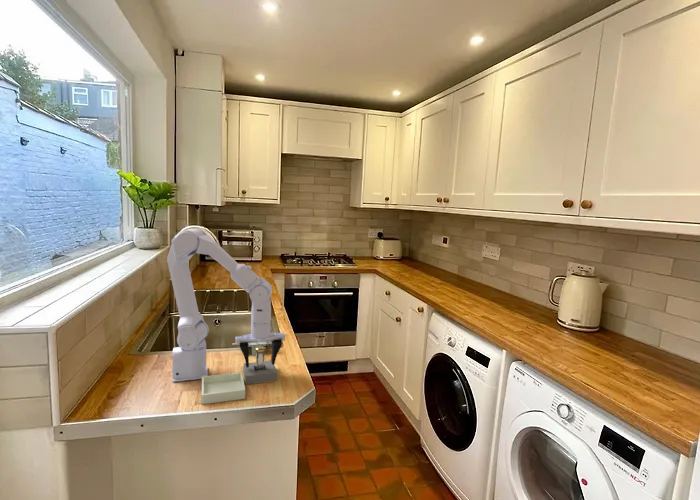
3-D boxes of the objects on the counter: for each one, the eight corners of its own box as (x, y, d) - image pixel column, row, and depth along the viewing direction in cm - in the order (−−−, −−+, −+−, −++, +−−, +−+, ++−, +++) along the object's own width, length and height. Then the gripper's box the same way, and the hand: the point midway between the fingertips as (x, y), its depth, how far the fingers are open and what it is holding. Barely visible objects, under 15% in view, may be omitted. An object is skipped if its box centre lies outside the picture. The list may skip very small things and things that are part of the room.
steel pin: (255, 378, 112) (255, 350, 111) (253, 374, 115) (254, 346, 114) (265, 377, 113) (266, 349, 112) (264, 372, 116) (265, 345, 115)
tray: (201, 404, 97) (201, 395, 97) (202, 384, 107) (202, 376, 107) (245, 398, 101) (245, 389, 100) (241, 380, 111) (241, 372, 111)
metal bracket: (279, 337, 132) (235, 341, 127) (279, 354, 131) (235, 358, 126) (272, 335, 145) (232, 338, 140) (272, 350, 145) (232, 354, 139)
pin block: (246, 384, 109) (246, 376, 108) (243, 371, 117) (243, 363, 117) (277, 380, 112) (277, 372, 111) (272, 367, 120) (272, 360, 120)
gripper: (236, 327, 106) (236, 373, 108) (287, 323, 111) (286, 367, 113) (235, 320, 113) (234, 363, 114) (283, 317, 118) (282, 358, 119)
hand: (260, 364), depth 114 cm, fingers open, 7 cm apart
